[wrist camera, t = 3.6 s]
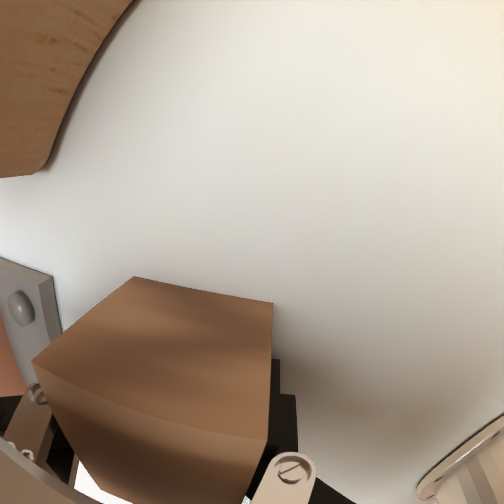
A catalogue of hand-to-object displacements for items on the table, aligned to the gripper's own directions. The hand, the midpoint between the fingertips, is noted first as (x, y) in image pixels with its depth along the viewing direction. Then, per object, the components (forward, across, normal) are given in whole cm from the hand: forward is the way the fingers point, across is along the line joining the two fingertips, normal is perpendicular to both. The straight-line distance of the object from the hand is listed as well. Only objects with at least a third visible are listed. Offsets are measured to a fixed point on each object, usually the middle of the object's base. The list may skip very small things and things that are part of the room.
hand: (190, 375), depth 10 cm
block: (+1, +10, -13) cm, 16 cm away
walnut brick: (+1, 0, 0) cm, 1 cm away
